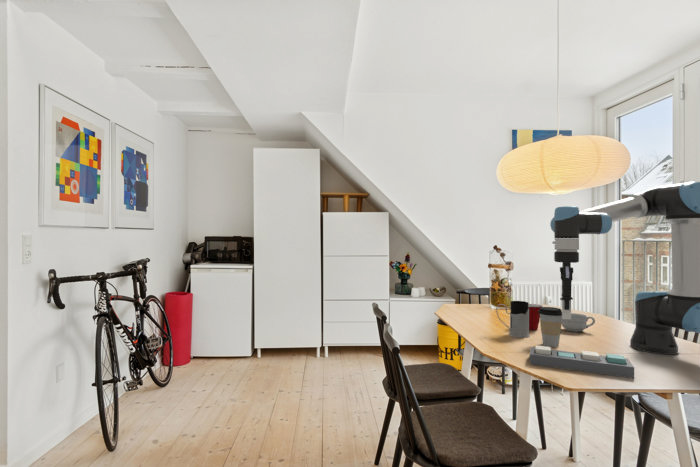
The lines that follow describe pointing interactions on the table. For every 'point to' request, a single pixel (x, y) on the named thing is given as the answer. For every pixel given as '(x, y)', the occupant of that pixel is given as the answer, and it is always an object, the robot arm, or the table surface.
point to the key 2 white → (590, 355)
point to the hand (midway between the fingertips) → (566, 318)
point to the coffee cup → (550, 325)
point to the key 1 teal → (615, 358)
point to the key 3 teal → (566, 355)
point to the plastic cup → (534, 316)
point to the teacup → (577, 322)
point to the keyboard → (581, 363)
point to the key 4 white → (543, 350)
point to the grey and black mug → (518, 319)
